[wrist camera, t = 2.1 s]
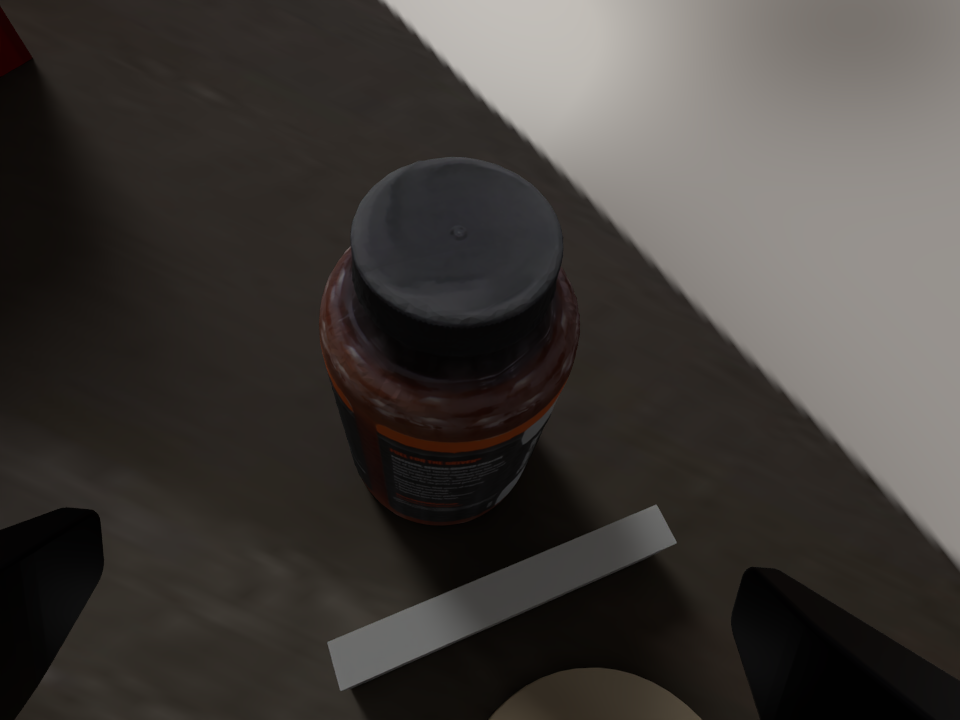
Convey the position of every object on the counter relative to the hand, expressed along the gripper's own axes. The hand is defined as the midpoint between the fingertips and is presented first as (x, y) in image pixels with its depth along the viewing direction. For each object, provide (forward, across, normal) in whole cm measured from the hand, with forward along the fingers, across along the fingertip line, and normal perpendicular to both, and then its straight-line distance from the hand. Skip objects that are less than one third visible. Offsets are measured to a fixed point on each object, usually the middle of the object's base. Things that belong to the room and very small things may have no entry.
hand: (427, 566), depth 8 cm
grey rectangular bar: (+8, -2, +7) cm, 11 cm away
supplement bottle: (+12, 0, +4) cm, 13 cm away
